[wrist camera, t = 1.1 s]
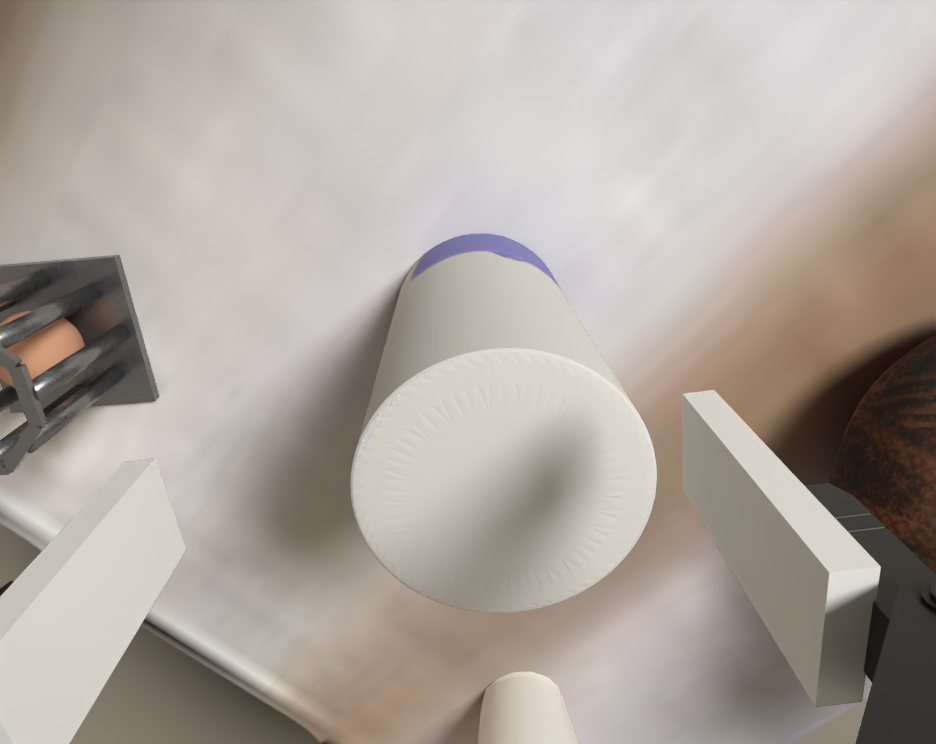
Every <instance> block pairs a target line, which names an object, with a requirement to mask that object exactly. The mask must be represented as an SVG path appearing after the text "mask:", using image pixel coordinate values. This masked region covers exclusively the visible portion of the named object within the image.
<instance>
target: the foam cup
mask: <svg viewBox="0 0 936 744" xmlns="http://www.w3.org/2000/svg"><path fill="white" fill-rule="evenodd" d="M478 744H578V741H577V738H576V736H575V733H574V730H573V727H572V724H571V721H570V718H569V715H568V713H567V710H566V707H565V704H564V701H563V698H562V695H561V693H560V691H559V687H558V686H556V685H555V684H554V683H553V682H552V681H551V680H550V679H549V678H548V677H546V676H543V675H540V674H537V673H534V672H513V673H510V674H508V675H505V676H503V677H500V678H498V679H496V680H495V681H494V682H493V683H492V684H491V685H490V686H489V687H488V688H487V689H486V690H485V694H484V697H483V700H482V708H481V714H480V724H479V734H478Z"/></svg>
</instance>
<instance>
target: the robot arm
mask: <svg viewBox="0 0 936 744" xmlns="http://www.w3.org/2000/svg"><path fill="white" fill-rule="evenodd" d="M683 492H684V493H685V495H686V496H687V498H688V500H689V501H690V503H691V505H692V506H693V508H694V509H695V511H696V513H697V514H698V516H699V518H700V519H701V521H702V523H703V524H704V526H705V527H706V529H707V531H708V532H709V534H710V536H711V537H712V539H713V541H714V542H715V544H716V545H717V547H718V549H719V550H720V552H721V554H722V555H723V557H724V559H725V560H726V562H727V563H728V565H729V567H730V568H731V570H732V572H733V573H734V575H735V576H736V578H737V580H738V581H739V583H740V585H741V586H742V588H743V590H744V591H745V593H746V594H747V596H748V598H749V599H750V601H751V603H752V604H753V606H754V608H755V609H756V611H757V612H758V614H759V616H760V617H761V619H762V621H763V622H764V624H765V626H766V627H767V629H768V630H769V632H770V634H771V635H772V637H773V639H774V640H775V642H776V643H777V645H778V647H779V648H780V650H781V652H782V653H783V655H784V657H785V658H786V660H787V661H788V663H789V665H790V666H791V668H792V670H793V671H794V673H795V675H796V676H797V678H798V679H799V681H800V683H801V684H802V686H803V688H804V689H805V691H806V693H807V694H808V696H809V697H810V699H811V701H812V702H813V704H814V706H815V707H820V706H829V705H838V704H847V703H856V702H862V698H863V691H864V684H865V676H866V675H867V676H868V678H869V679H870V681H871V682H872V686H871V690H870V694H869V697H868V701H867V705H866V708H865V712H864V715H863V719H862V723H861V726H860V730H859V733H858V737H857V741H856V744H936V574H935V573H934V572H933V571H932V570H931V569H930V568H928V567H927V566H926V565H925V564H924V563H923V562H922V561H921V560H920V559H919V558H918V557H917V556H916V555H915V554H914V553H913V552H912V551H911V550H910V549H909V548H908V547H907V546H905V545H904V544H903V543H902V542H901V541H900V540H899V539H898V538H897V537H896V536H895V535H894V534H893V533H892V532H891V531H890V530H889V529H885V527H884V525H883V524H882V523H881V522H880V521H879V520H878V519H877V518H876V517H875V516H874V515H871V514H870V511H869V510H868V509H867V508H866V507H865V506H864V505H863V504H862V503H860V502H859V501H858V500H857V499H856V498H855V497H854V496H853V495H851V494H849V493H847V492H845V491H843V490H841V489H839V488H837V487H836V486H834V485H832V484H830V483H821V484H813V485H805V486H804V485H803V484H802V483H801V482H800V481H799V479H798V478H797V477H796V476H795V475H794V474H793V473H792V472H791V471H790V470H789V469H788V468H787V467H786V466H785V465H784V464H783V463H782V461H781V460H780V459H779V458H778V457H777V456H776V455H775V454H774V453H773V452H772V451H771V450H770V449H769V448H768V447H767V446H766V445H765V443H764V442H763V441H762V440H761V439H760V438H759V437H758V436H757V435H756V434H755V433H754V432H753V431H752V430H751V429H750V428H749V427H748V425H747V424H746V423H745V422H744V421H743V420H742V419H741V418H740V417H739V416H738V415H737V414H736V413H735V412H734V411H733V410H732V408H731V407H730V406H729V405H728V404H727V403H726V402H725V401H724V400H723V399H722V398H721V397H720V396H719V395H718V394H717V393H716V392H715V390H710V391H702V392H694V393H686V394H683ZM185 551H186V546H185V544H184V541H183V538H182V535H181V532H180V529H179V526H178V523H177V520H176V518H175V515H174V512H173V509H172V506H171V503H170V500H169V497H168V494H167V492H166V489H165V486H164V483H163V480H162V477H161V474H160V471H159V468H158V465H157V463H156V460H155V458H154V459H146V460H138V461H129V462H124V463H123V465H122V466H121V467H120V468H119V469H118V470H117V471H116V472H115V473H114V474H113V475H112V476H111V478H110V479H109V480H108V481H107V482H106V483H105V484H104V485H103V486H102V487H101V488H100V489H99V490H98V492H97V493H96V494H95V495H94V496H93V497H92V498H91V499H90V500H89V501H88V502H87V503H86V505H85V506H84V507H83V508H82V509H81V510H80V511H79V512H78V513H77V514H76V515H75V516H74V517H73V519H72V520H71V521H70V522H69V523H68V524H67V525H66V526H65V527H64V528H63V529H62V530H61V532H60V533H59V534H58V535H57V536H56V537H55V538H54V539H53V540H52V541H51V542H50V543H49V544H48V546H47V547H46V548H45V549H44V550H43V551H42V552H41V553H40V554H39V555H38V556H37V558H35V560H34V561H33V562H32V563H31V564H30V565H29V566H28V567H27V568H26V569H25V570H24V571H23V573H22V574H21V575H20V576H19V577H18V578H17V579H16V580H15V581H10V582H9V583H7V584H6V585H4V586H3V587H2V588H0V744H69V743H70V742H71V740H72V738H73V737H74V735H75V733H76V732H77V730H78V728H79V727H80V725H81V724H82V722H83V720H84V718H85V717H86V715H87V714H88V712H89V710H90V709H91V707H92V705H93V704H94V702H95V700H96V699H97V697H98V695H99V694H100V692H101V690H102V689H103V687H104V685H105V683H106V682H107V680H108V678H109V677H110V675H111V674H112V672H113V670H114V669H115V667H116V665H117V664H118V662H119V660H120V659H121V657H122V655H123V654H124V652H125V650H126V649H127V647H128V645H129V644H130V642H131V640H132V639H133V637H134V635H135V634H136V632H137V630H138V629H139V627H140V625H141V624H142V622H143V621H144V619H145V617H146V616H147V614H148V612H149V611H150V609H151V607H152V606H153V604H154V602H155V601H156V599H157V597H158V596H159V594H160V592H161V591H162V589H163V587H164V586H165V584H166V582H167V581H168V579H169V577H170V576H171V574H172V572H173V571H174V569H175V567H176V566H177V564H178V562H179V561H180V559H181V557H182V556H183V554H184V552H185Z"/></svg>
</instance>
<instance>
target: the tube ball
mask: <svg viewBox="0 0 936 744" xmlns="http://www.w3.org/2000/svg"><path fill="white" fill-rule="evenodd" d="M29 312H31V311H25V312H21V313H17V314H15V315H12V316H10V317H8V318H7V319H5V320H4V321H2V322H1V323H0V326H2V325H4V324H6V323H8V322H10V321H12V320H14V319H16V318H18V317H21V316H23V315H25V314H27V313H29ZM83 346H85V345H84V341H83V338H82V336H81V334H80V333H79V331H78V330H77V329H76V327H75V326H74V325H73V324H71V323H70V322H69V321H68V320H66V319H65V318H63V319H61V320H59V321H57V322H55V323H53V324H51V325H50V326H48V327H46V328H44V329H42V330H40V331H38V332H36V333H35V334H33V335H31V336H29V337H27V338H25V339H23V340H22V341H20V342H18V343H16V344H14V345H12V346H10V347H8V348H7V350H8V351H10V352H11V353H13V354H15V355H16V356H18V357H19V358H21V359H22V362H21V363H20V364H26V365H27V368H28V370H29V373H30V376H31V379H34V378H35V377H37V376H38V375H40V374H41V373H43V372H44V371H46V370H48V369H49V368H51V367H52V366H54V365H55V364H57V363H58V362H60V361H62V360H63V359H65V358H66V357H68V356H69V355H71V354H73V353H74V352H76V351H77V350H79V349H80V348H82V347H83ZM75 377H76V376H75ZM75 377H73V378H75ZM73 378H72V379H73ZM0 379H2V380H3V381H4V382H5V383H7V384H8V385H10V386H12V387H14V388H15V386H14V384H13V381H12V378H11V376H10V373H9V371H8V370H7V369H5V368H4V367H2V366H0ZM72 379H70V380H69V381H68V382H66V383H65V384H63V385H62V386H64V385H66V384H67V383H69V382H70V381H71V380H72ZM62 386H61V387H62ZM59 388H60V387H59Z"/></svg>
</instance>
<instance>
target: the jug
mask: <svg viewBox="0 0 936 744" xmlns="http://www.w3.org/2000/svg"><path fill="white" fill-rule="evenodd" d="M829 483H830V484H832V485H834V486H836V487H837V488H839V489H841V490H843V491H845V492H847V493H849V494H851V495H853V496H854V497H855V498H856V499H857V500H858V501H859V502H860V503H862V504H863V505H864V506H865V507H866V508H867V509H868V510H869V511H870V514H871V515H874V516H875V517H876V518H877V519H878V520H879V521H880V522H881V523H882V524H883V525H884V527H885V529H889V530H890V531H891V532H892V533H893V534H894V535H895V536H896V537H897V538H898V539H899V540H900V541H901V542H902V543H903V544H904V545H905V546H907V547H908V548H909V549H910V550H911V551H912V552H913V553H914V554H915V555H916V556H917V557H918V558H919V559H920V560H921V561H922V562H923V563H924V564H925V565H926V566H927V567H928V568H930V569H931V570H932V571H933V572H934V573H935V574H936V334H935V335H934V336H932V337H930V338H928V339H927V340H925V341H923V342H922V343H920V344H919V345H918V346H916V347H915V348H914V349H912V350H911V351H910V352H909V353H907V354H906V355H905V356H903V357H902V358H901V359H899V360H898V361H897V362H895V363H894V364H893V365H892V366H891V367H889V368H888V369H887V370H886V371H885V372H884V373H883V374H882V375H881V376H880V377H879V378H878V379H877V381H876V382H875V383H874V384H873V385H872V387H871V388H870V389H869V390H868V392H867V393H866V394H865V395H864V397H863V398H862V400H861V401H860V403H859V405H858V406H857V408H856V410H855V412H854V413H853V415H852V417H851V419H850V421H849V423H848V425H847V428H846V430H845V432H844V435H843V438H842V441H841V443H840V446H839V449H838V451H837V455H836V458H835V462H834V465H833V469H832V473H831V476H830V482H829Z"/></svg>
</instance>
